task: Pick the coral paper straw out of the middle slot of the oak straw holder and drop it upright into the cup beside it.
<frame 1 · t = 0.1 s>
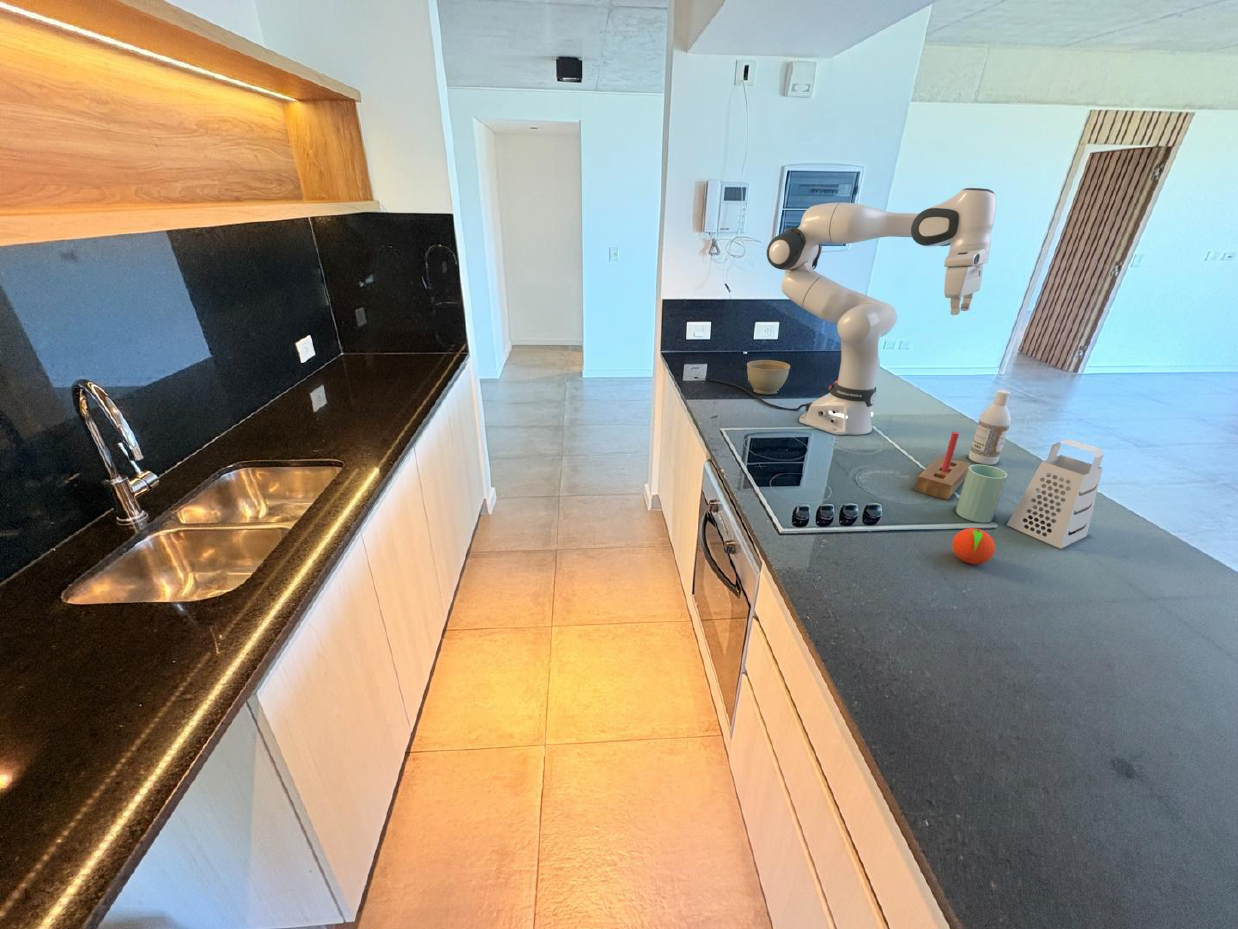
hand: (959, 312, 141), 39 cm above the worktop, tool pointing down, fingers open, 8 cm apart
cup: (973, 514, 121), on the worktop
straw: (948, 458, 132), in the straw holder
clementine: (968, 563, 104), on the worktop
planter bowl: (765, 392, 208), on the worktop
grater: (1045, 531, 114), on the worktop
straw holder: (941, 483, 135), on the worktop
bath foam: (982, 461, 148), on the worktop
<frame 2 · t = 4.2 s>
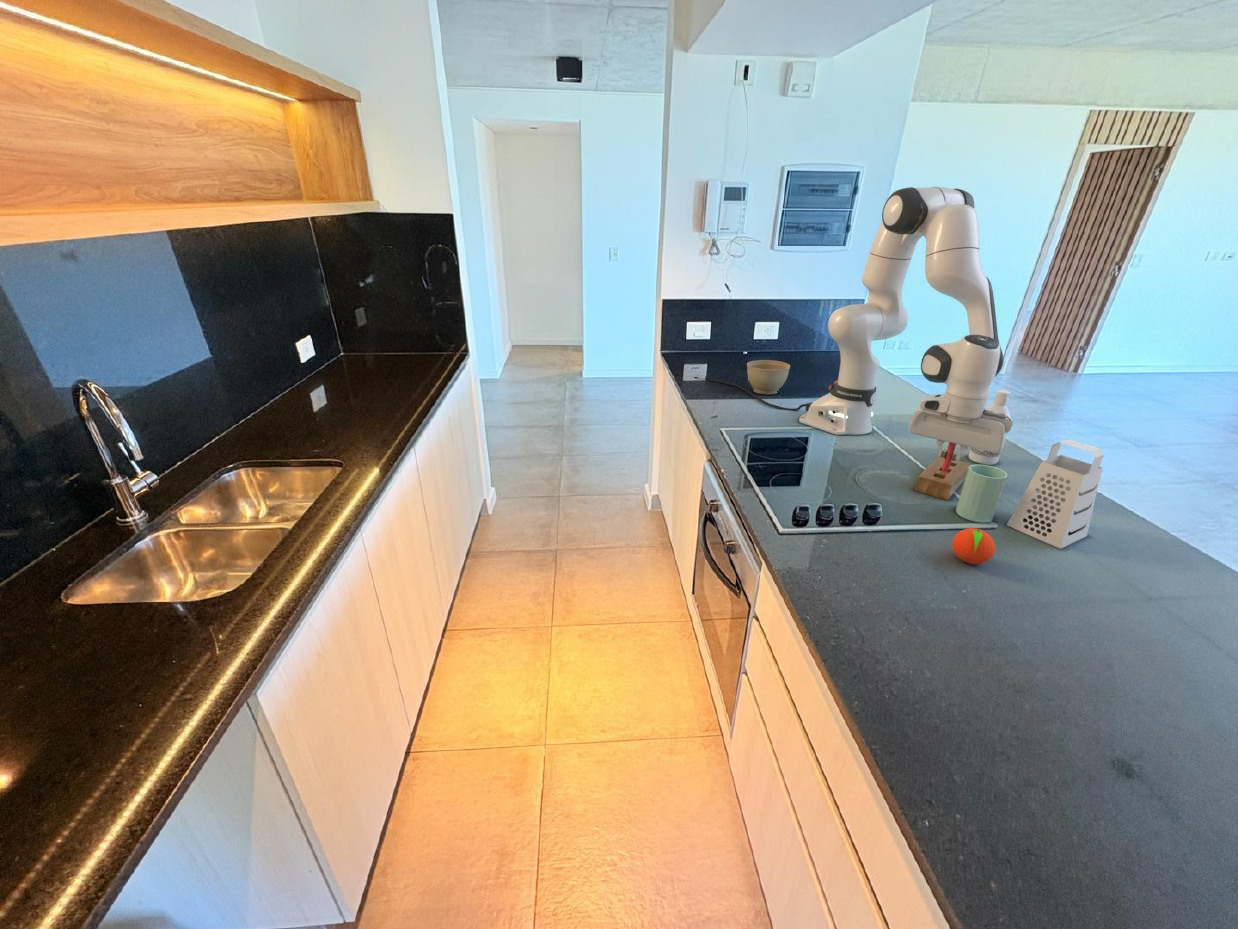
hand: (948, 458, 132), 7 cm above the worktop, tool pointing down, fingers closed on straw, 1 cm apart
straw: (948, 458, 132), in the straw holder, touching gripper
everything else where it was.
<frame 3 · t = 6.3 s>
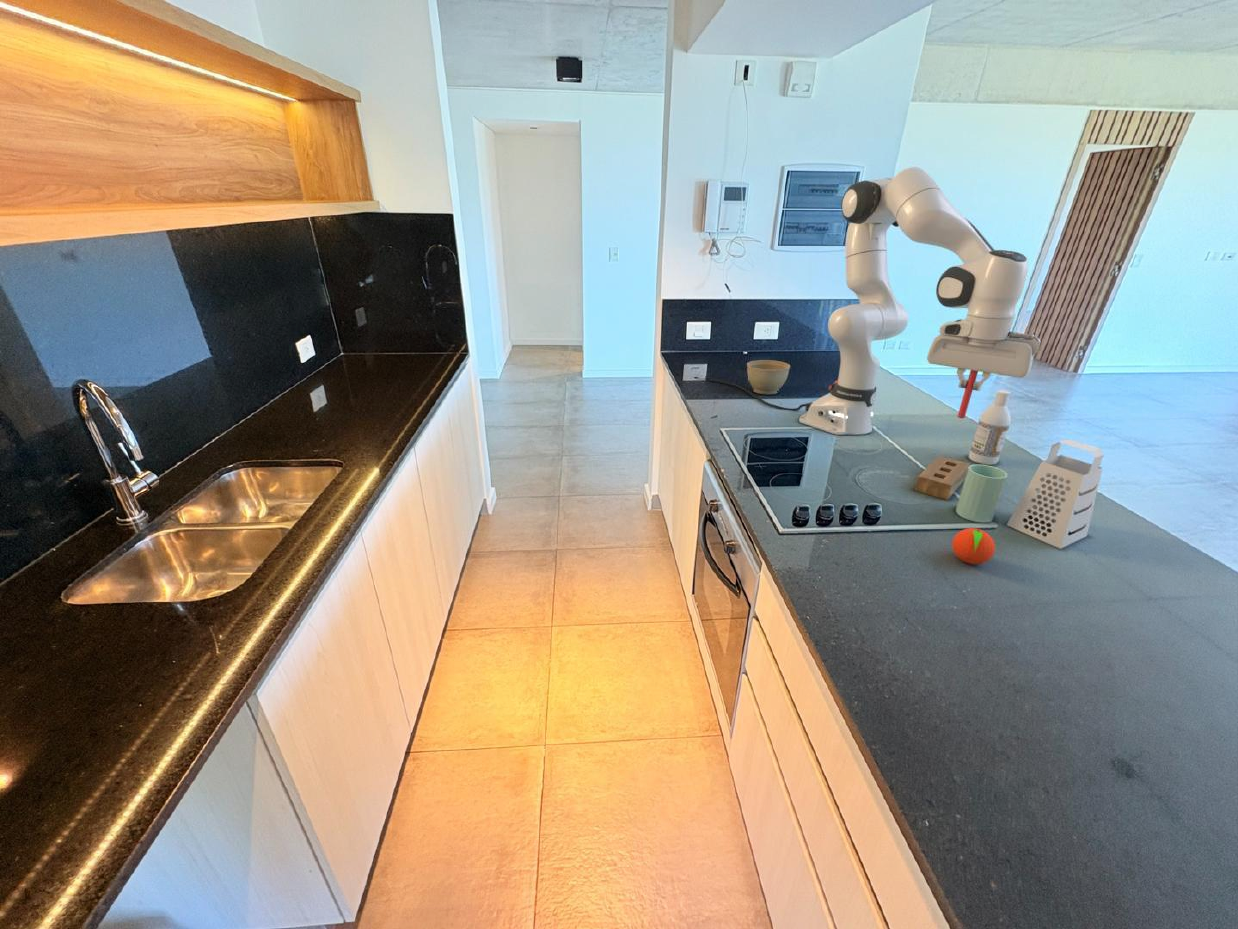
hand: (969, 388, 124), 25 cm above the worktop, tool pointing down, fingers closed on straw, 1 cm apart
straw: (969, 389, 124), point 25 cm above the worktop, touching gripper
everything else where it was.
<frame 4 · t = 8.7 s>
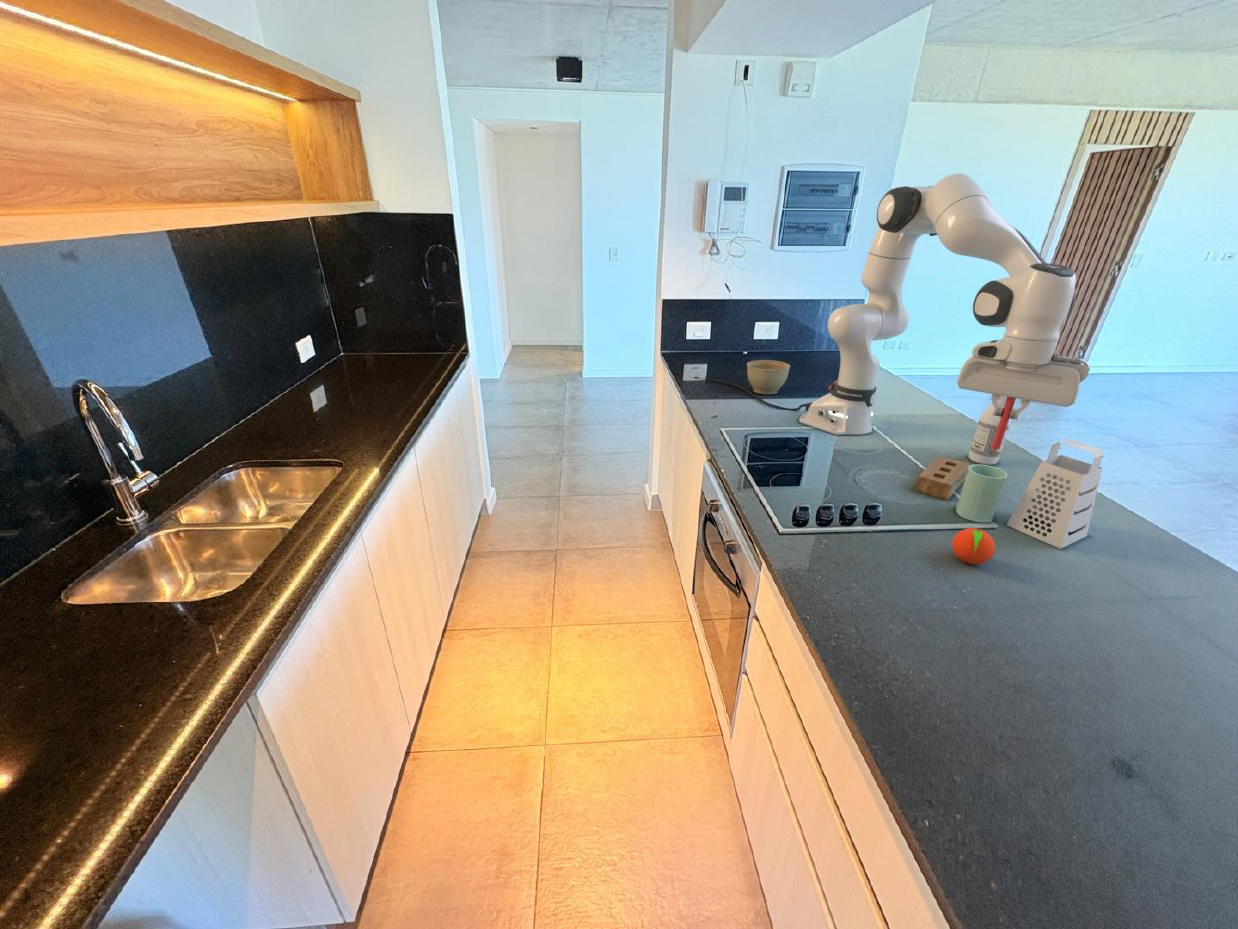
hand: (1005, 417, 111), 24 cm above the worktop, tool pointing down, fingers closed on straw, 1 cm apart
straw: (1005, 417, 111), point 24 cm above the worktop, touching gripper
everything else where it was.
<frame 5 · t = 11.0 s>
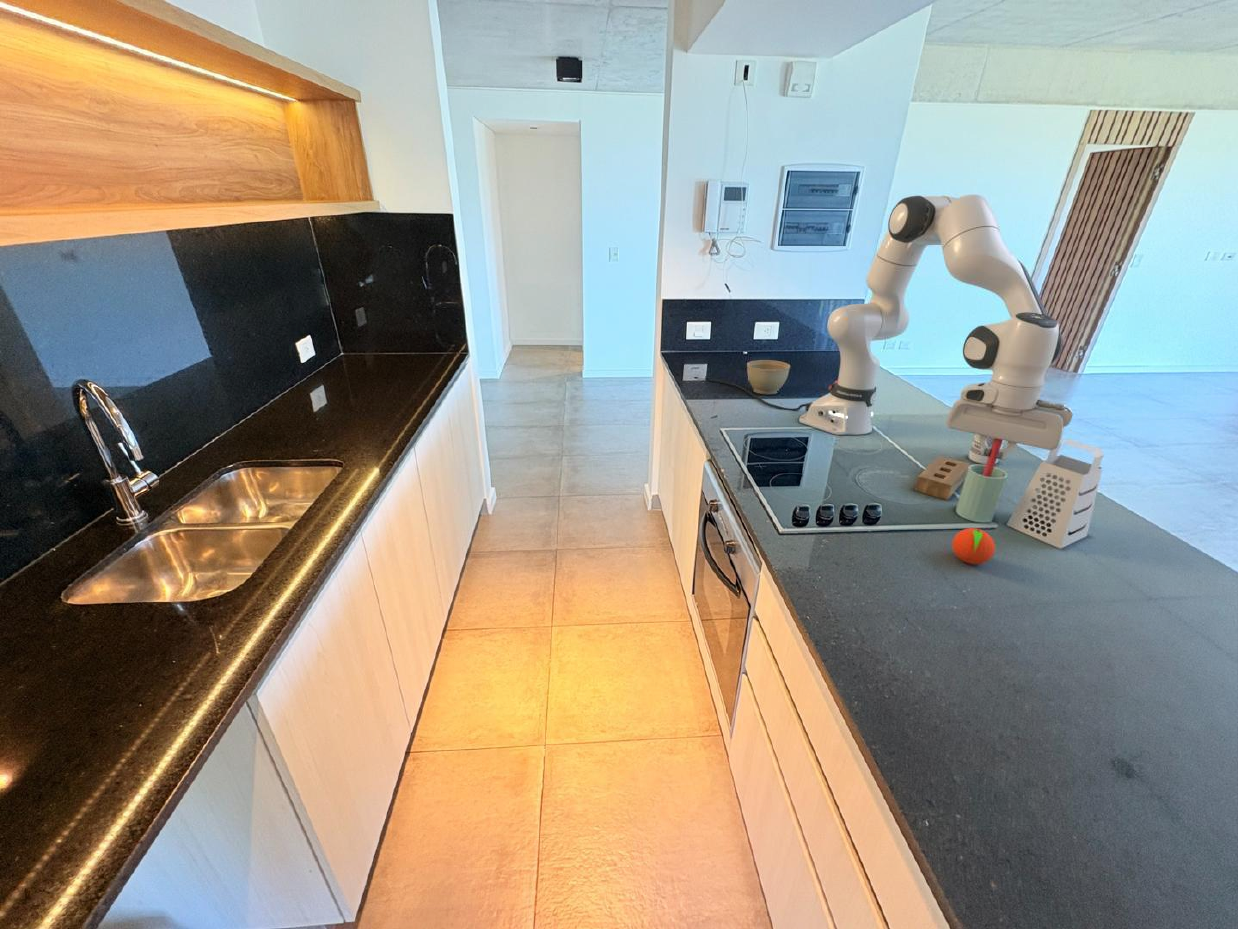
hand: (992, 456, 115), 14 cm above the worktop, tool pointing down, fingers closed on straw, 1 cm apart
straw: (992, 457, 115), point 14 cm above the worktop, touching gripper
everything else where it was.
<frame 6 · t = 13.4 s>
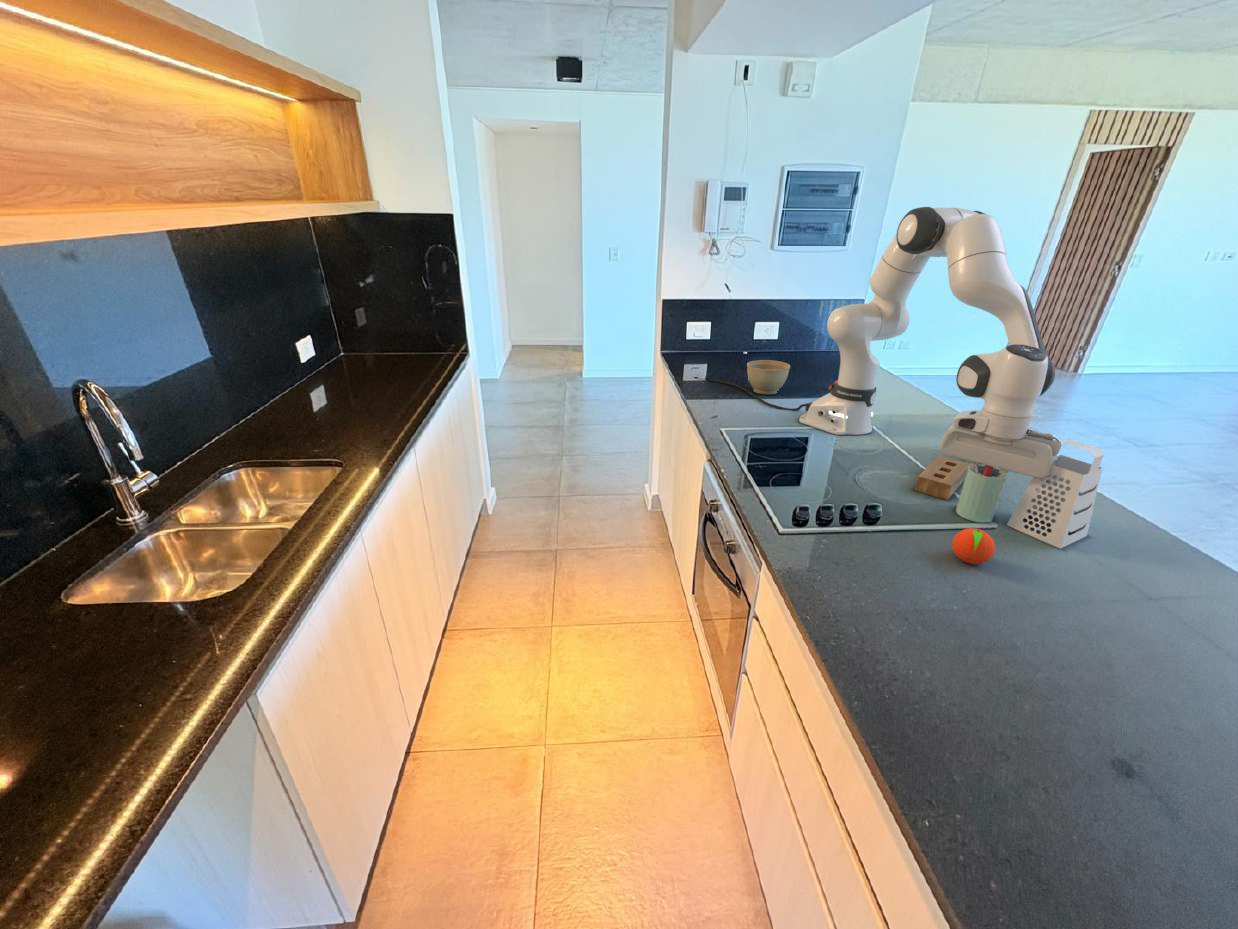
hand: (984, 482, 117), 8 cm above the worktop, tool pointing down, fingers closed on cup, 2 cm apart
straw: (983, 484, 117), in the cup, point 8 cm above the worktop
everything else where it was.
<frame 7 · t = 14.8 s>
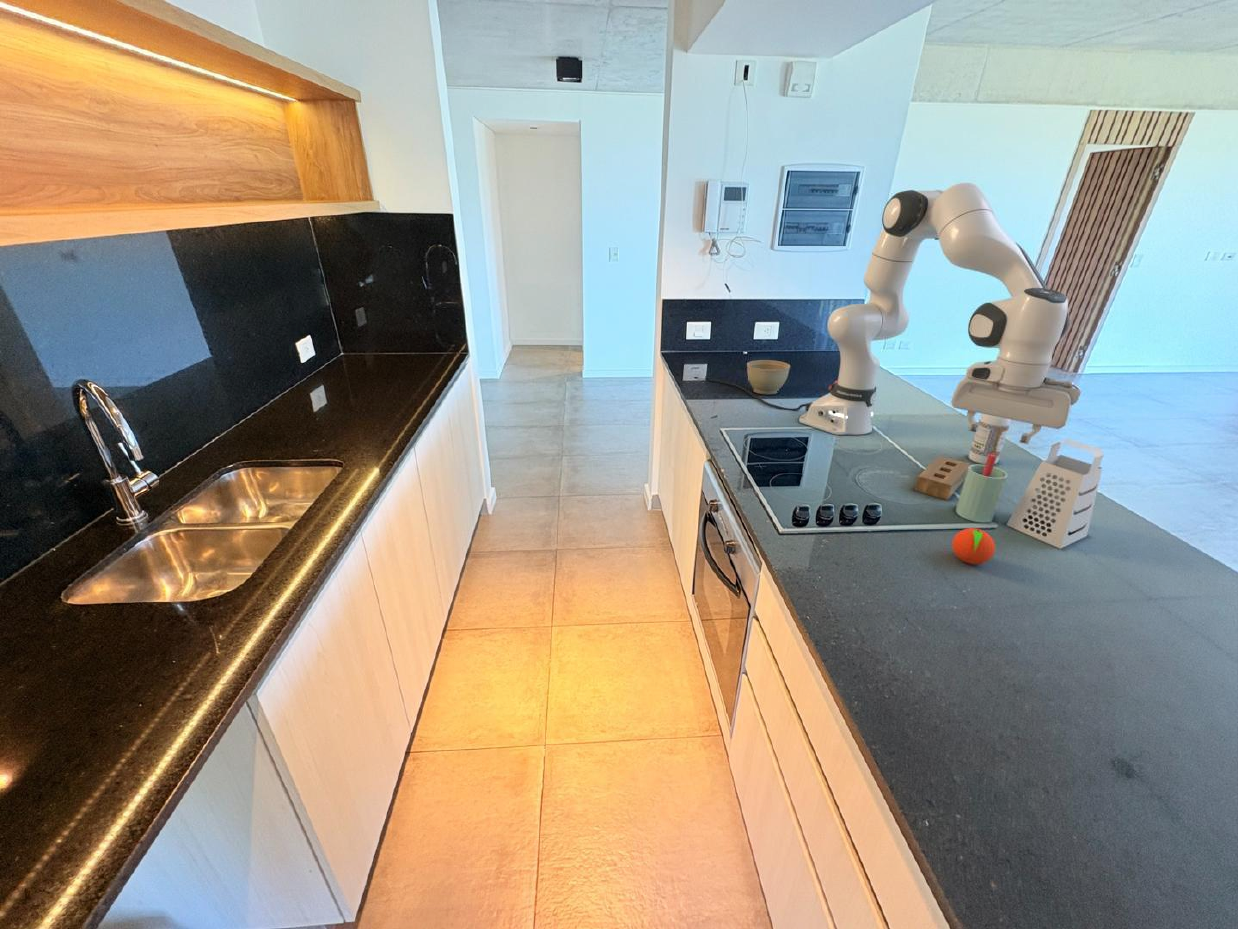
hand: (997, 436, 113), 19 cm above the worktop, tool pointing down, fingers open, 8 cm apart
nothing on the worktop moved.
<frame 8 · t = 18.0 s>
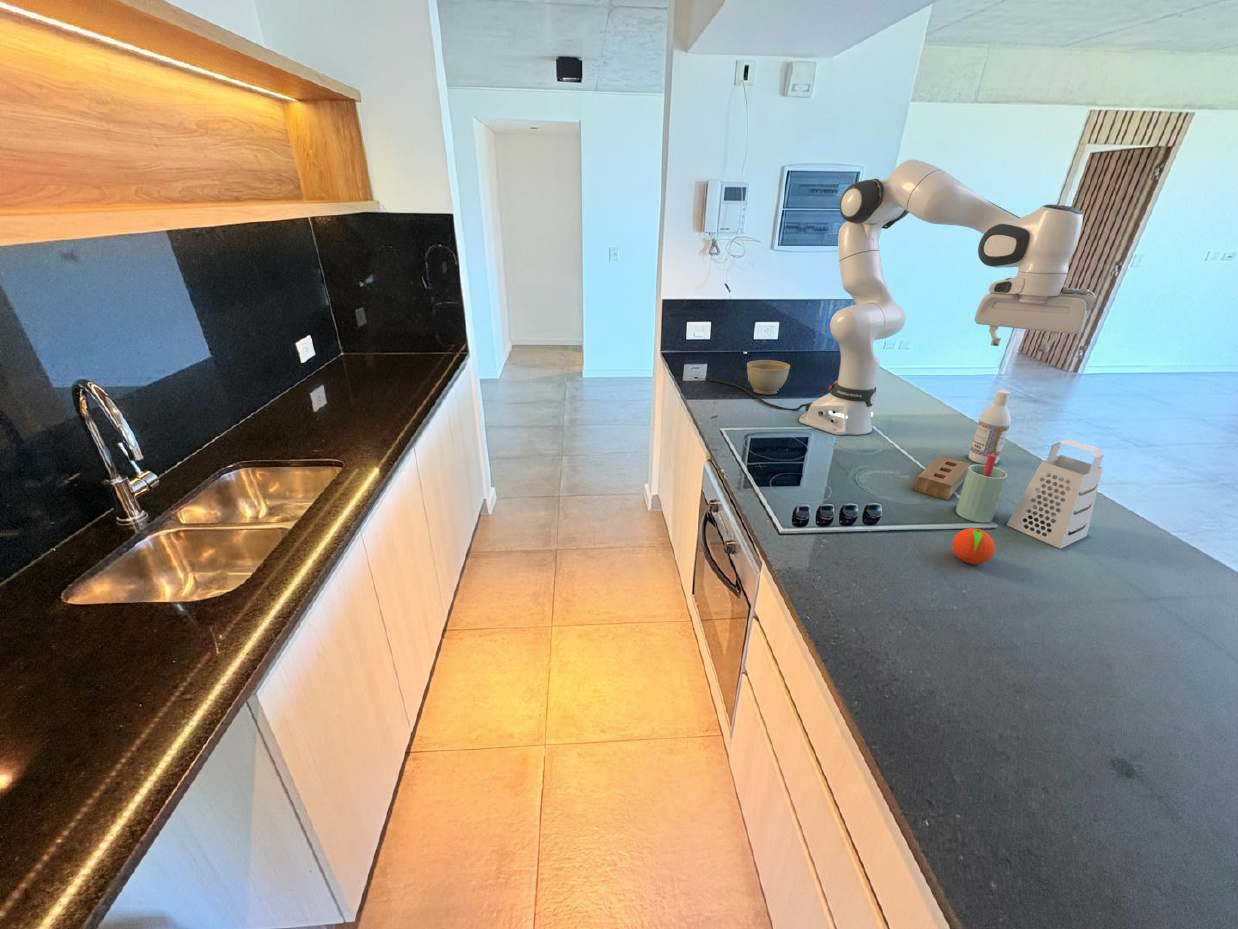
hand: (1018, 348, 123), 34 cm above the worktop, tool pointing down, fingers open, 8 cm apart
nothing on the worktop moved.
at the end: straw 0.0 cm off-centre in the cup, point 7.8 cm above the cup's base; the gripper is holding nothing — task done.
